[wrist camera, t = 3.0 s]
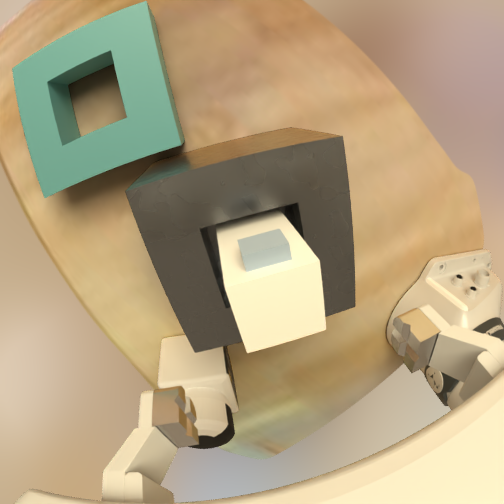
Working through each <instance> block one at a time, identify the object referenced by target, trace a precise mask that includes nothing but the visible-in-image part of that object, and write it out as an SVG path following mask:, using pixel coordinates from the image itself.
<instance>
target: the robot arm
mask: <svg viewBox="0 0 504 504" xmlns="http://www.w3.org/2000/svg"><path fill="white" fill-rule="evenodd" d="M491 267H492V257H491V253H490V251H488V250H487V249H483V250H477V251H471V252H465V253H460V254H454V255H448V256H442V257H436V258H433V259H431V260H430V261H429V262H428V264H427V265H426V267H425V269H424V271H423V272H422V274H421V276H420V278H419V279H418V280H417V282H416V283H415V284H414V285H413V286H412V287H411V288H410V289H409V290H408V291H407V292H406V293H405V295H404V296H403V297H402V298H401V300H400V301H399V303H398V304H397V306H396V307H395V309H394V311H393V313H392V315H391V317H390V320H389V323H388V327H387V339H388V342H389V343H390V344H391V345H392V346H393V348H394V350H395V351H396V353H397V354H398V355H401V356H403V357H404V360H403V362H404V364H405V365H406V366H407V367H408V369H409V370H410V372H411V373H413V372H415V371H417V370H419V369H420V370H421V371H422V372H423V373H424V375H425V377H426V379H427V381H428V383H429V385H430V386H431V388H432V389H433V390H434V392H435V393H436V395H437V396H438V397H439V399H440V400H441V402H442V403H443V404H444V405H445V406H449V407H450V409H451V411H450V412H448V413H447V414H445V415H444V416H442V417H441V418H439V419H438V420H436V421H435V422H433V423H431V424H430V425H428V426H426V427H425V428H423V429H421V430H420V431H418V432H416V433H414V434H412V435H411V436H409V437H407V438H405V439H403V440H401V441H399V442H398V443H396V444H394V445H392V446H390V447H388V448H386V449H384V450H382V451H379V452H377V453H375V454H373V455H371V456H369V457H367V458H364V459H362V460H359V461H357V462H354V463H352V464H350V465H347V466H345V467H342V468H339V469H337V470H334V471H332V472H328V473H326V474H323V475H320V476H317V477H314V478H311V479H307V480H304V481H301V482H297V483H294V484H290V485H286V486H283V487H279V488H275V489H271V490H266V491H262V492H257V493H252V494H247V495H241V496H235V497H229V498H222V499H215V500H206V501H196V502H182V503H174V497H173V493H172V492H171V491H169V490H167V489H165V488H164V487H162V486H160V484H161V482H162V481H163V479H164V477H165V475H166V473H167V471H168V469H169V467H170V464H171V463H172V461H173V459H174V456H175V455H176V452H177V450H178V448H179V447H186V446H192V445H198V444H199V438H198V429H197V428H196V427H195V426H194V423H195V422H196V420H197V416H196V410H195V407H194V404H193V402H192V400H191V399H190V397H188V396H185V390H184V388H183V387H182V386H175V387H169V388H162V389H156V390H150V391H143V392H142V394H141V397H140V408H139V421H138V428H135V429H134V430H133V431H132V433H131V434H130V436H129V437H128V439H127V440H126V441H125V442H124V444H123V445H122V446H121V448H120V449H119V451H118V452H117V453H116V455H115V456H114V458H113V459H112V460H111V462H110V463H109V464H108V466H107V467H106V468H105V470H104V471H103V485H102V501H97V500H89V499H81V498H75V497H69V496H63V495H58V494H53V493H48V492H44V491H41V490H36V489H29V490H27V491H26V492H25V493H24V494H23V495H22V496H21V497H20V498H19V499H18V500H17V501H16V502H15V503H14V504H504V325H503V323H502V321H501V319H500V314H501V303H502V284H501V281H500V279H499V278H498V277H497V276H496V275H495V274H494V273H493V272H492V271H491Z"/></svg>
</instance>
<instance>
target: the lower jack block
mask: <svg viewBox="0 0 504 504" xmlns="http://www.w3.org/2000/svg"><path fill="white" fill-rule="evenodd" d="M112 64H114V66H115V70H116V75H117V79H118V83H119V87H120V92H121V96H122V100H123V103H124V107H125V111H126V115H127V118H125V119H122V120H120V121H117V122H115V123H112V124H110V125H107V126H105V127H103V128H100V129H98V130H96V131H93V132H91V133H89V134H87V135H84V136H82V137H81V136H80V133H79V129H78V125H77V122H76V118H75V114H74V110H73V106H72V101H71V97H70V93H69V88H68V85H69V84H71V83H73V82H75V81H77V80H79V79H81V78H83V77H85V76H87V75H89V74H91V73H94V72H96V71H98V70H100V69H103V68H105V67H107V66H110V65H112ZM12 70H13V78H14V85H15V91H16V96H17V102H18V107H19V112H20V117H21V121H22V125H23V129H24V134H25V137H26V141H27V145H28V149H29V152H30V156H31V159H32V162H33V165H34V169H35V172H36V175H37V178H38V181H39V184H40V187H41V189H42V192H43V195H44V198H46V197H48V196H50V195H53V194H55V193H57V192H59V191H61V190H63V189H65V188H68V187H70V186H72V185H74V184H77V183H79V182H81V181H83V180H86V179H88V178H90V177H93V176H95V175H98V174H100V173H103V172H105V171H108V170H110V169H113V168H115V167H118V166H121V165H123V164H126V163H129V162H132V161H134V160H137V159H140V158H143V157H146V156H149V155H152V154H155V153H158V152H161V151H164V150H167V149H170V148H173V147H176V146H180V145H182V144H183V142H184V141H185V140H184V136H183V132H182V128H181V125H180V121H179V117H178V113H177V110H176V106H175V102H174V98H173V94H172V90H171V86H170V82H169V78H168V74H167V70H166V66H165V62H164V58H163V53H162V49H161V45H160V41H159V36H158V32H157V28H156V23H155V19H154V16H153V14H152V12H151V10H150V8H149V5H148V3H147V1H145V2H142V3H139V4H136V5H133V6H130V7H127V8H125V9H122V10H119V11H117V12H114V13H112V14H109V15H107V16H105V17H102V18H100V19H98V20H95V21H93V22H91V23H89V24H87V25H85V26H83V27H80V28H78V29H76V30H74V31H73V32H71V33H69V34H67V35H65V36H63V37H61V38H59V39H58V40H56V41H54V42H52V43H51V44H49V45H47V46H46V47H44V48H42V49H41V50H39V51H37V52H36V53H34V54H33V55H31V56H30V57H28V58H27V59H25V60H24V61H22V62H21V63H19V64H18V65H16V66H15V67H14V68H12Z"/></svg>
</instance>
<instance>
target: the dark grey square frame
mask: <svg viewBox="0 0 504 504" xmlns="http://www.w3.org/2000/svg"><path fill="white" fill-rule="evenodd" d="M125 192H126V195H127V198H128V201H129V204H130V206H131V209H132V212H133V215H134V217H135V220H136V223H137V225H138V228H139V231H140V233H141V236H142V238H143V241H144V243H145V246H146V248H147V251H148V253H149V256H150V258H151V260H152V263H153V265H154V267H155V270H156V272H157V274H158V277H159V279H160V281H161V284H162V286H163V288H164V290H165V293H166V295H167V297H168V299H169V301H170V303H171V306H172V308H173V310H174V312H175V314H176V316H177V318H178V320H179V322H180V324H181V326H182V329H183V331H184V333H185V335H186V337H187V339H188V341H189V343H190V344H191V346H192V348H193V350H194V352H195V353H197V352H202V351H206V350H210V349H214V348H219V347H223V346H227V345H231V344H235V343H238V342H242V341H243V340H242V337H241V334H240V331H239V328H238V326H237V323H236V320H235V317H234V314H233V311H232V308H231V305H230V302H229V299H228V296H227V293H226V290H225V286H224V280H223V273H222V267H221V260H220V253H219V246H218V239H217V232H216V224H218V223H221V222H225V221H229V220H232V219H236V218H240V217H243V216H247V215H251V214H255V213H259V212H262V211H266V210H270V209H274V208H279V209H280V211H281V212H282V213H283V214H284V216H285V217H286V218H287V219H288V221H289V222H290V223H291V224H292V226H293V227H294V228H295V230H296V231H297V232H298V233H299V235H300V236H301V237H302V238H303V240H304V241H305V242H306V244H307V245H308V246H309V247H310V249H311V250H312V251H313V253H314V254H315V255H316V256H317V258H318V259H319V260H320V268H321V277H322V287H323V297H324V309H325V317H327V316H330V315H332V314H335V313H338V312H341V311H344V310H347V309H350V308H353V307H355V263H354V242H353V226H352V212H351V201H350V191H349V181H348V172H347V164H346V156H345V149H344V142H343V136H339V135H334V134H329V133H323V132H317V131H311V130H305V129H299V128H292V127H290V128H285V129H280V130H275V131H270V132H265V133H260V134H256V135H251V136H247V137H243V138H238V139H234V140H230V141H226V142H222V143H218V144H215V145H211V146H207V147H203V148H200V149H196V150H193V151H189V152H186V153H183V154H179V155H176V156H173V157H170V158H166V159H163V160H160V161H157V162H154V163H153V164H152V165H151V166H150V167H149V168H148V169H147V170H146V171H145V172H144V173H143V174H142V175H141V176H140V177H139V178H138V179H137V180H136V181H135V182H134V183H133V184H132V185H131V186H130V187H129V188H128V189H127V190H126V191H125Z"/></svg>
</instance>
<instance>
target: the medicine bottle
mask: <svg viewBox="0 0 504 504" xmlns="http://www.w3.org/2000/svg"><path fill="white" fill-rule="evenodd" d="M157 384H158V387H159V389H162V388H169V387H175V386H182V387H183V388H184V390H185V396H188V397H190V399H191V400H192V402H193V404H194V407H195V410H196V416H197V420H196V422H195V423H194V426H195V427H196V428H197V429H198V438H199V444H198V445H192V446H188V447H192V448H198V449H208V448H214V447H218V446H221V445H224V444H226V443H228V442H229V441H230V440H231V439H232V438H233V436H234V434H235V430H234V424H233V418H232V413H236V412H238V410H239V408H238V402H237V396H236V390H235V384H234V377H233V371H232V366H231V362H230V358H229V354H228V350H227V346H223V347H219V348H214V349H210V350H206V351H202V352H197V353H195V352H194V350H193V348H192V346H191V344H190V343H189V341H188V339H187V337H186V335H180V336H173V337H166V338H163V339H162V340H161V350H160V360H159V371H158V383H157Z"/></svg>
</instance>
